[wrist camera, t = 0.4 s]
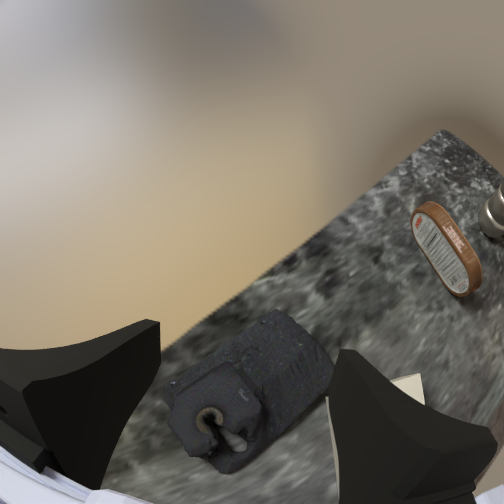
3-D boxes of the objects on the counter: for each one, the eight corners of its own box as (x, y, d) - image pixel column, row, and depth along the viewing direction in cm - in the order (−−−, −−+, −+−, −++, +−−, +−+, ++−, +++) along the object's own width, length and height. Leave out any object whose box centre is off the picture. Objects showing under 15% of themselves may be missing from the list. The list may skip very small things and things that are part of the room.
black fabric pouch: (351, 384, 34) (359, 384, 30) (217, 478, 30) (208, 488, 26) (279, 301, 41) (277, 290, 36) (154, 391, 37) (139, 390, 32)
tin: (465, 296, 36) (494, 276, 28) (452, 307, 36) (481, 287, 28) (414, 220, 43) (432, 188, 35) (401, 227, 42) (418, 196, 35)
